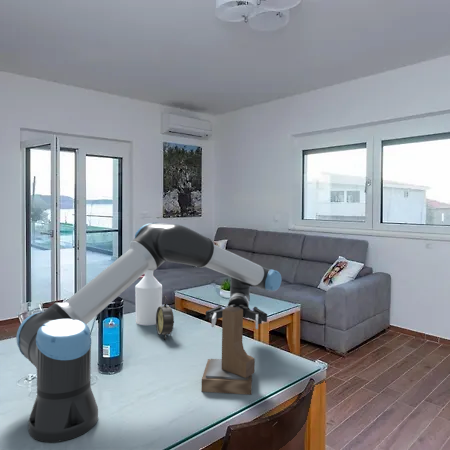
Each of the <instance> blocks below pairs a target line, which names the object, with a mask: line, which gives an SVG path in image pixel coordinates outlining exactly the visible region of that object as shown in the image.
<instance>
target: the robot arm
mask: <svg viewBox="0 0 450 450" xmlns="http://www.w3.org/2000/svg"><path fill="white" fill-rule="evenodd" d="M165 262H167V263H176V264H182V265H183V264H184V265H188V266H192V267H195V268H198V269H200V268H201V269H202V268H207V269H210V270H213V271H215V272H217V273H221V274H223V275H226V276H229V277H230V287H229V288H230V289H229V290H230V291H229V292H230V293H229V301H228V303H227V305H226V306H225V307H223V306H222V304H219V305H217V306H216V307H213V308H210V309H208V310H206V311H205V320H209V322H210V323H211V327H212V328H215V326H216V323H217V320H219V319H222V316H223V309H226V308H229V307H236V308H240V309H243V319H249V320H253V321H255V330H259V325H262V323H263V322H264V323H268V314H267V312H265V311H262V310H261V309H259V308H258V307H257V306H253V307H252V308H250V306H249V305H250V302H251V301H250V300H251V299H250V298H251V297H250V287H253V288H256V289H260V290H265V291H268V292H269V291H270V292H276V291H277V290H279V289H280V287H281V284H282V279H283V278H282V275H281V272H280V271H278V270H276V269H275V270H274V269H270V268H266V267H265V266H262V265H260V264H258V263H256V262H254V261H251V260H250V259H247V258H245V257H243V256H240V255H238V254H236V253H233V252H231V251H229V250H228V249H225V248H223V247H220V246H219V245H216V244H215V243H214V241H213V239H211V238H209V237H207V236H205V235H203V234H201V233H199V232H197V231H196V230H193V229H191V228H188V227H187V226H185V225H180V224H172V223H163V222H149V223H145V224H144V225H142V226H141V227H139V228H138V230H137V231H136V232H135V234H134V239H132V240H131V241H130V242H129V247H128V250H127V251H125V252H124V253H123V254H122V255H120V256H119V257H118V258H117V259H116V260H114V261H113V262H112V263H111V264H109V265H108V266H107V267H106V268H105V269H103V270H102V271H101V272H100V273H98V274H97V275H96V276H94V278H92V279H91V280H90V281H89V282H87V283H86V284H85V285H84V286H83V287H81V288H80V289H78V290H77V291H76V292H75V293H74V294H72V295H71V296H70V297H69V298H68V299H66V301H63V302H54V303H53V304H51V305H50V306H49V307H48V308H46V309H45V310H44V311H39V312H38V311H37V312H35V313H32V314H30V315H29V316H27V317H25V319H24V320H23V321H22V322H21V323H20V325H19V327H18V328H17V332H16V337H15V338H16V339H15V340H16V345H17V347H18V349H19V352H20V353H21V355H22V356H24V358H25V359H27V360H28V361H29V362H30V363H31V364H32V365H33V366H34V367H35V368H36V397H35V400H34V403H33V406H32V410H31V412H30V415H29V418H28V434H29V435H30V437H31V438H33V439H34V440H36V441H40V442H45V443H58V442H63V441H69V440H72V439H75V438H78V437H80V436H82V435H84V434H85V433H87V432H89V431H90V430H91V429H93V427H94V426H95V425H96V424H97V422H98V420H99V408H98V404H97V401H96V398H95V396H94V392H93V390H92V387H91V385H92V384H91V370H92V367H91V365H92V364H91V363H92V362H91V360H92V359H91V358H92V357H91V356H92V352H91V351H92V350H91V349H92V336H91V329H90V327H89V325H88V324H89V322H91V321H92V320H93V319H94V318H95V317H97V316H98V315H99V314H100V313H101V312H102V311H103V310H104V309H106V308H107V307H108V306H109V305H110V304H111V303H112V302H113V301H114V300H115V299H117V298H119V296H120V295H122V294H123V292H125V291H126V290H127V289H128V288H130V286H132V285H133V284H134V283H135V282H136V281H137V280H138V279H139V278H141V277H142V276H143V275H145V272H146V271H147V270H152V271H155V270H157V269H158V268H159V267H160V266H161V265H163V264H164V263H165Z"/></svg>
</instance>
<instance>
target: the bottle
mask: <svg viewBox="0 0 450 450" xmlns="http://www.w3.org/2000/svg"><path fill="white" fill-rule="evenodd" d="M154 271H155V270H154ZM154 271H152V270H147V271H146V272H145V273H144V276H143V277H142V278H141V280H139V282H138V283H137V284H136V285H135V287H134V291H135V293H134V294H135V296H134V298H135V324H137V325H140V326H154V325H155V326H156V313H157V309H158V307H160V306H162V304H163V285H162V283H161V282H159V280H158V279H157V278H156V277H155V276H154Z"/></svg>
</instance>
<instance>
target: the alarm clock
mask: <svg viewBox="0 0 450 450" xmlns="http://www.w3.org/2000/svg"><path fill="white" fill-rule="evenodd" d="M165 300H166V301H165ZM167 303H168V298H167V296H166V295H164V296H163V306H160V307H158V309H157V313H156V324H155V327H156V331H157V334H158V335H159V336H164V340H165V341H166V340H167V335H171V333H172V332H173V329H174V323H175V320H174V319H175V318H174V317H175V316H174V312H173V310H172V308H171V307H170V306H169V305H167Z"/></svg>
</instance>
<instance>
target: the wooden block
mask: <svg viewBox="0 0 450 450" xmlns="http://www.w3.org/2000/svg"><path fill="white" fill-rule="evenodd" d="M221 319H222V325H221V326H222V327H221V328H222V329H221V359H222V370H225V371H228V372H230V373H233V374H236V375H239V376H241V377H244V378H247V377H249V376H250V375H252V376H253V374H255V371H256V370H255V366H256V363H255V362H256V359H255V357H253V356H251V355H249V354H248V353H247V351H246V350H245V348H244V343H243V331H244V329H243V327H244V325H243V323H244V321H243V320H244V317H243V309H240V308H236V307H229V308H226V309H223V316H222V318H221Z"/></svg>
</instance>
